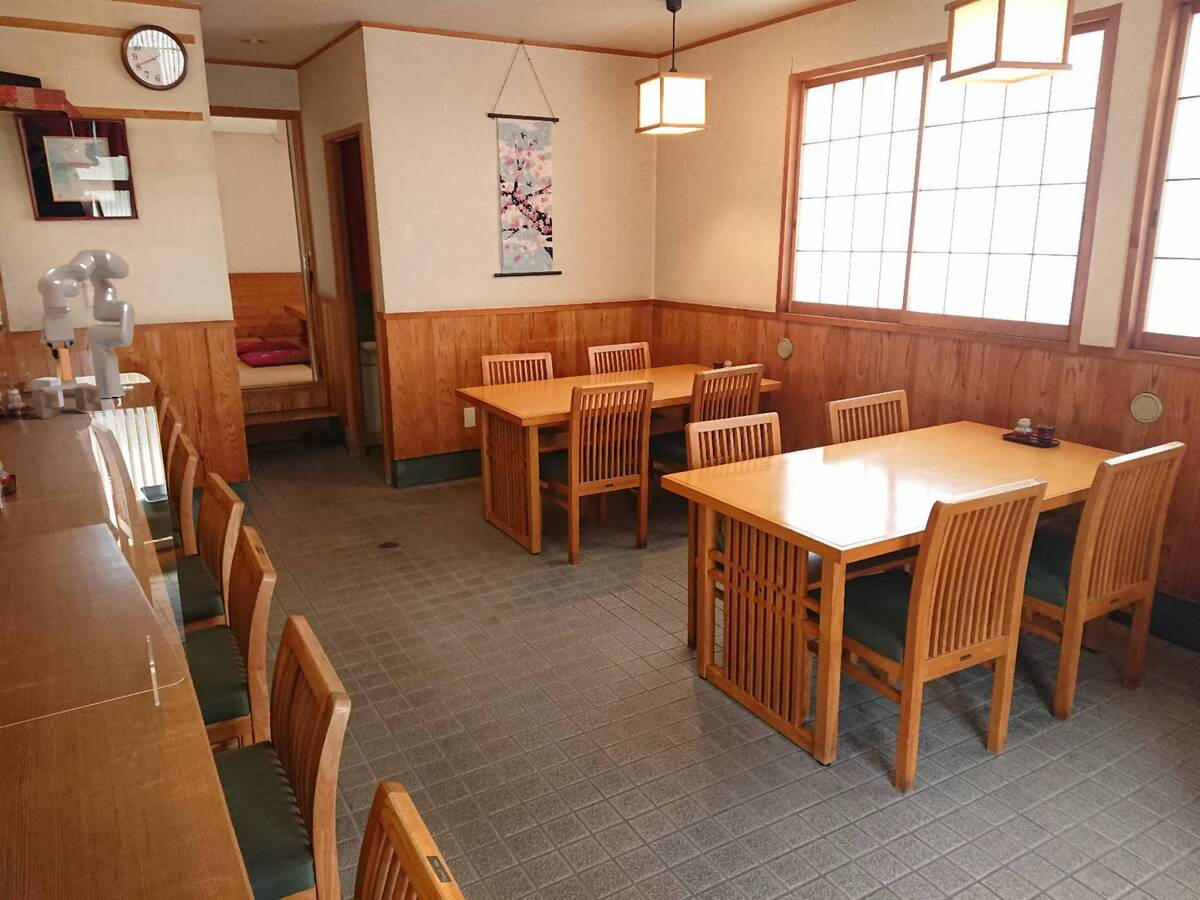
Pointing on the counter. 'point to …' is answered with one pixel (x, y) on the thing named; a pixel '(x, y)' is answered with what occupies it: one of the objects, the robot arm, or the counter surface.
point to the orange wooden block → (63, 364)
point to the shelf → (49, 401)
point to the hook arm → (65, 387)
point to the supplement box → (49, 382)
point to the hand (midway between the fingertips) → (61, 358)
